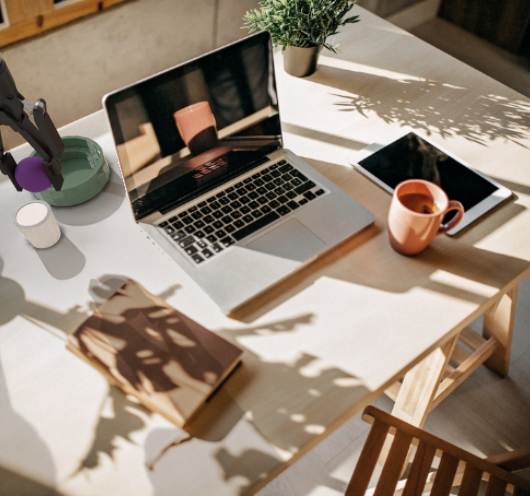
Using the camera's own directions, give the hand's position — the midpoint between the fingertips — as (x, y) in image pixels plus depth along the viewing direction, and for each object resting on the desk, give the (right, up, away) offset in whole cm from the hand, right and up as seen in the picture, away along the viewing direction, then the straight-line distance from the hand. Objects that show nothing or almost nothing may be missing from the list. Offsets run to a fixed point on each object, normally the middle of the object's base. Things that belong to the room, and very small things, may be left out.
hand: (40, 185), depth 85 cm
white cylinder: (-3, -9, +10) cm, 14 cm away
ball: (0, +2, -2) cm, 3 cm away
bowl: (-2, +4, +18) cm, 19 cm away
